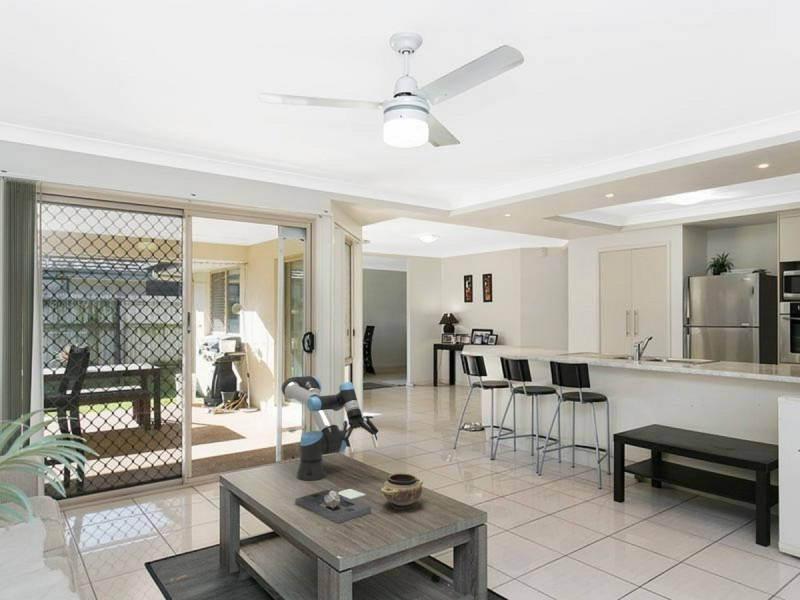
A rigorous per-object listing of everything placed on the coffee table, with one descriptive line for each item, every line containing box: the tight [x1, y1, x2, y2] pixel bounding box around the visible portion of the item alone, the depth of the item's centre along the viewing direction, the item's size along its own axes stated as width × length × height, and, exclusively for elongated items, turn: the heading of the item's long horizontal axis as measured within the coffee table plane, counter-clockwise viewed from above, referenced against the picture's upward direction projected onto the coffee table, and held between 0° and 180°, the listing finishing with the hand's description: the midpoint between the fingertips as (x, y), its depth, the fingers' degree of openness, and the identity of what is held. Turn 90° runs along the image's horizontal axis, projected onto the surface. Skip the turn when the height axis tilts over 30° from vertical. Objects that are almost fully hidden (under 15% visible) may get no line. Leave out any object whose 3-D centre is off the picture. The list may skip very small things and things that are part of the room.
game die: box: [323, 488, 343, 511], centre depth 242 cm, size 9×8×10 cm
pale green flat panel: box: [337, 488, 366, 500], centre depth 259 cm, size 12×12×1 cm
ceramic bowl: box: [380, 472, 424, 510], centre depth 246 cm, size 24×18×15 cm
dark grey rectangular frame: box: [294, 489, 372, 524], centre depth 242 cm, size 32×18×3 cm, turn 44°
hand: (364, 449), depth 274 cm, fingers open, 13 cm apart
